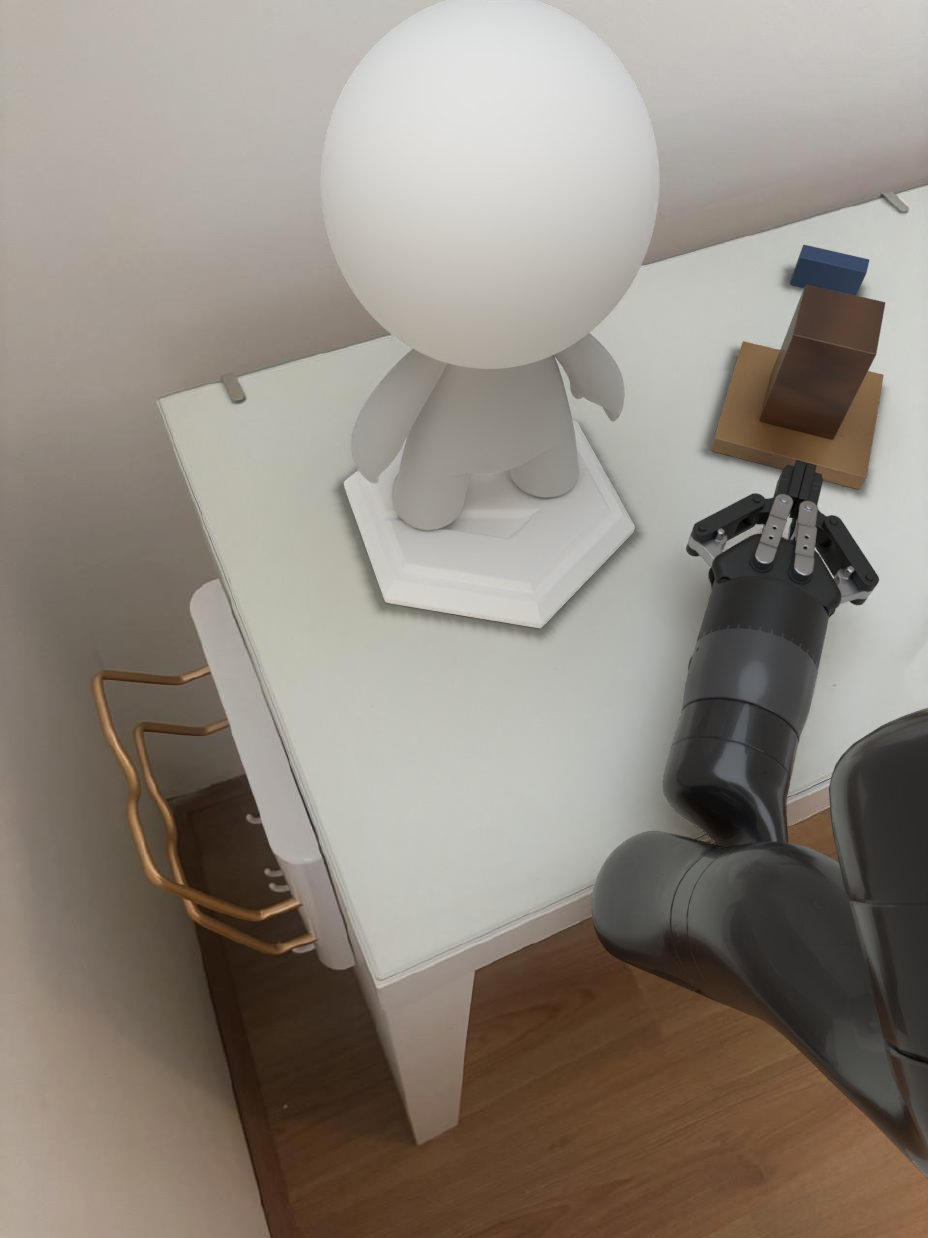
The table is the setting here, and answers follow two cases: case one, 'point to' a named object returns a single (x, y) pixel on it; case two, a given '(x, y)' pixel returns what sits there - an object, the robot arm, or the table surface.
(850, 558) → the robot arm
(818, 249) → the blue rectangular block
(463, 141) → the big headed doll
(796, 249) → the table surface
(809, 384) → the block
